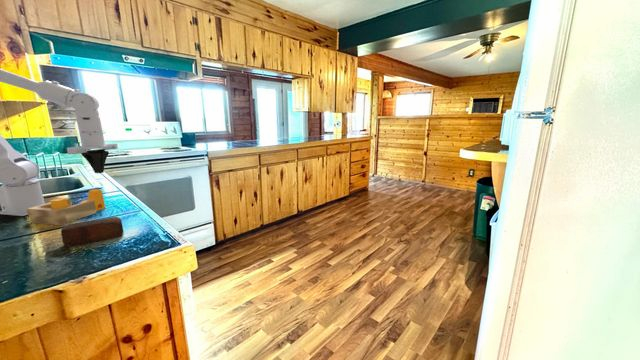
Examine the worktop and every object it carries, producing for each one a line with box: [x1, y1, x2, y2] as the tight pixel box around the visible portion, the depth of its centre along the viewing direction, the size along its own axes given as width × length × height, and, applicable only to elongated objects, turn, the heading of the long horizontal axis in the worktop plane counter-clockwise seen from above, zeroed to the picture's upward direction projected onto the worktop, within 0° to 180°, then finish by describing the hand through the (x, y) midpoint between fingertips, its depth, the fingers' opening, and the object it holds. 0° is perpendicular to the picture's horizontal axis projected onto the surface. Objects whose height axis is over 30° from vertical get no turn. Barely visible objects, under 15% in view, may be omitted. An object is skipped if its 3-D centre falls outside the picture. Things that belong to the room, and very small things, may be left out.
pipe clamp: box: [49, 188, 106, 212], centre depth 76 cm, size 12×4×6 cm, turn 170°
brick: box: [60, 216, 124, 249], centre depth 60 cm, size 11×4×5 cm, turn 128°
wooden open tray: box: [27, 197, 98, 226], centre depth 74 cm, size 10×10×4 cm
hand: (99, 172), depth 85 cm, fingers closed
